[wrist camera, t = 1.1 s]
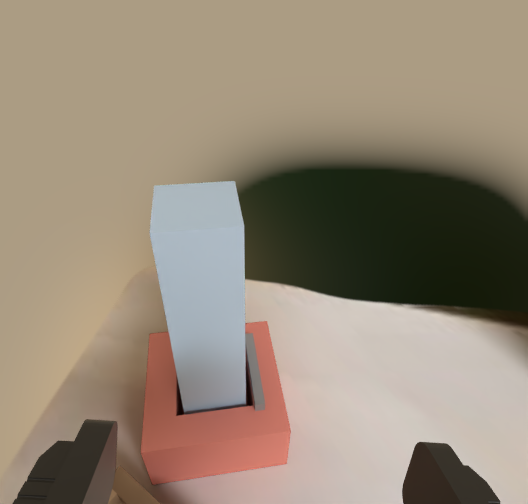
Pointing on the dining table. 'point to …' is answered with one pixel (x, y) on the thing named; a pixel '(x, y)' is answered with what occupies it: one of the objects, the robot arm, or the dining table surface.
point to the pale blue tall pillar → (203, 290)
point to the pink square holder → (213, 418)
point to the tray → (129, 490)
